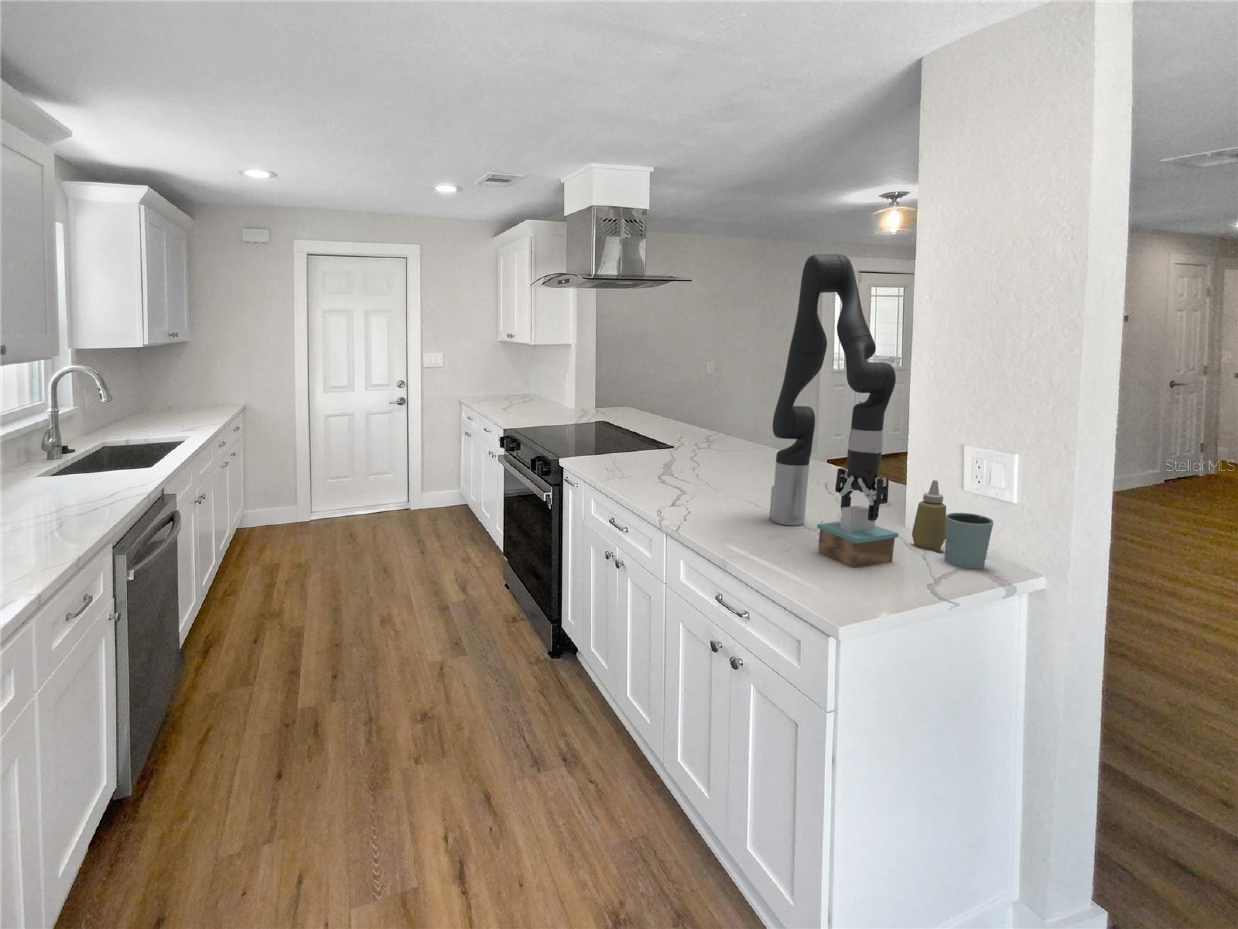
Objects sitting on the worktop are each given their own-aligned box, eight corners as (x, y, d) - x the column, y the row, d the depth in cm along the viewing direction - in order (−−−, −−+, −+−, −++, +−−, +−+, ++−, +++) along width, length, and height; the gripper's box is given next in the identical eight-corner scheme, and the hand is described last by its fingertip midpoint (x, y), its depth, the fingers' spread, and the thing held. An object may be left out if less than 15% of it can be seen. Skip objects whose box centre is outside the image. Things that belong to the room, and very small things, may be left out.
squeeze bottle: (941, 546, 186) (950, 479, 183) (946, 555, 179) (955, 485, 175) (908, 543, 188) (916, 476, 185) (911, 552, 181) (919, 482, 177)
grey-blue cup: (992, 567, 171) (999, 518, 169) (979, 577, 164) (986, 526, 162) (948, 557, 178) (953, 510, 176) (933, 566, 170) (939, 517, 168)
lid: (816, 531, 174) (819, 503, 173) (856, 526, 180) (859, 499, 178) (856, 546, 163) (859, 516, 161) (897, 540, 168) (900, 511, 167)
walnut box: (817, 556, 175) (820, 528, 174) (854, 550, 180) (857, 523, 179) (853, 571, 164) (856, 542, 163) (891, 565, 170) (894, 537, 168)
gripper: (831, 444, 172) (825, 510, 175) (876, 454, 159) (869, 524, 162) (854, 443, 175) (848, 507, 178) (900, 452, 163) (893, 522, 166)
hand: (858, 515), depth 170 cm, fingers open, 8 cm apart
